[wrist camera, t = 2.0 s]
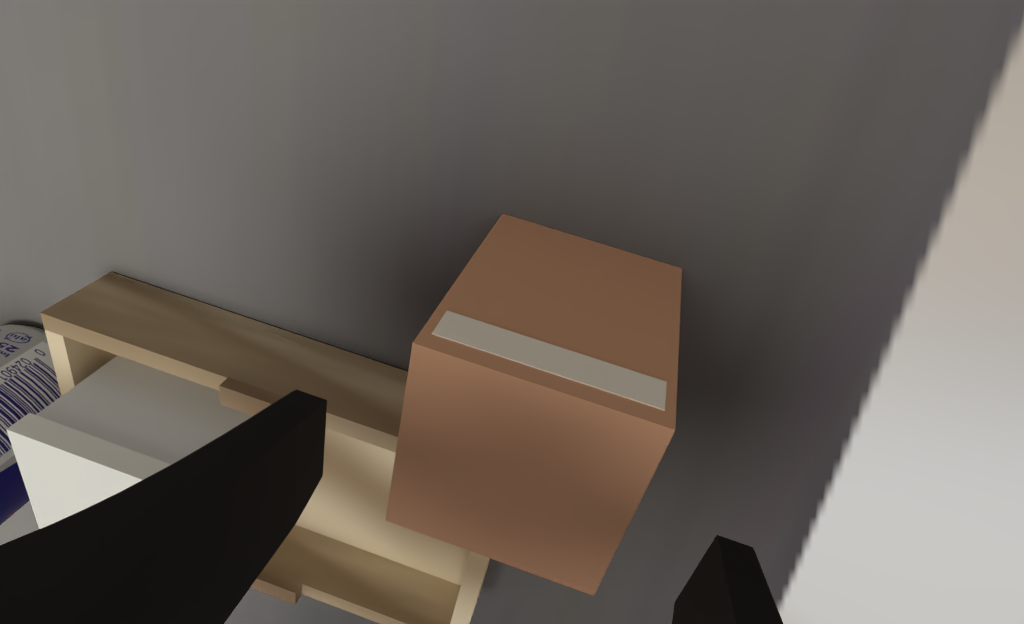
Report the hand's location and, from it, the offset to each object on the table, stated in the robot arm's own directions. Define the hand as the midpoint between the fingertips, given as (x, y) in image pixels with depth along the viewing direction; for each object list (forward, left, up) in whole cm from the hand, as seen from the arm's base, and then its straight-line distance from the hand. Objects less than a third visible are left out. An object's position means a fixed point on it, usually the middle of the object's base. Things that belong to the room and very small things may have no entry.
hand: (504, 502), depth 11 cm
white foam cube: (-8, +11, -6) cm, 15 cm away
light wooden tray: (-8, +7, -7) cm, 13 cm away
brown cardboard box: (0, 0, -7) cm, 7 cm away
